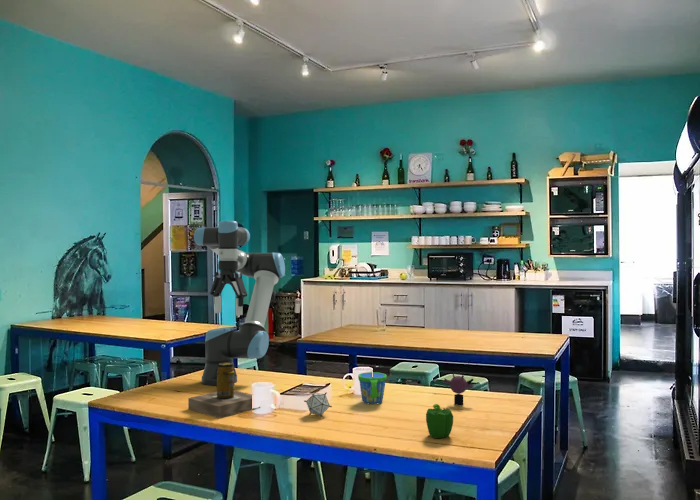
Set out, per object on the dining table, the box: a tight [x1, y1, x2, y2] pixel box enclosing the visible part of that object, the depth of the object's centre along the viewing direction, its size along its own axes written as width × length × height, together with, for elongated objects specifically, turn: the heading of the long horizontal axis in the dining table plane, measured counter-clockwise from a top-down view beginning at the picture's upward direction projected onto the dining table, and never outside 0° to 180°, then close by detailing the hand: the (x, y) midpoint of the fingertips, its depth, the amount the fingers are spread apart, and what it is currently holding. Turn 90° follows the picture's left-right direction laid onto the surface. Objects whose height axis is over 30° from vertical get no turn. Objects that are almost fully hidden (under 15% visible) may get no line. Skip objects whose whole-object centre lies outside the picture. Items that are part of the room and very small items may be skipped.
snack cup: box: [357, 371, 387, 405], centre depth 220 cm, size 16×10×10 cm
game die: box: [303, 390, 333, 418], centre depth 202 cm, size 9×8×10 cm
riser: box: [187, 389, 253, 419], centre depth 212 cm, size 18×18×4 cm
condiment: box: [212, 363, 240, 401], centre depth 211 cm, size 7×8×12 cm
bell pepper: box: [425, 403, 454, 439], centre depth 179 cm, size 8×8×10 cm
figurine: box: [443, 371, 474, 406], centre depth 217 cm, size 8×8×12 cm
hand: (228, 314), depth 233 cm, fingers open, 13 cm apart
